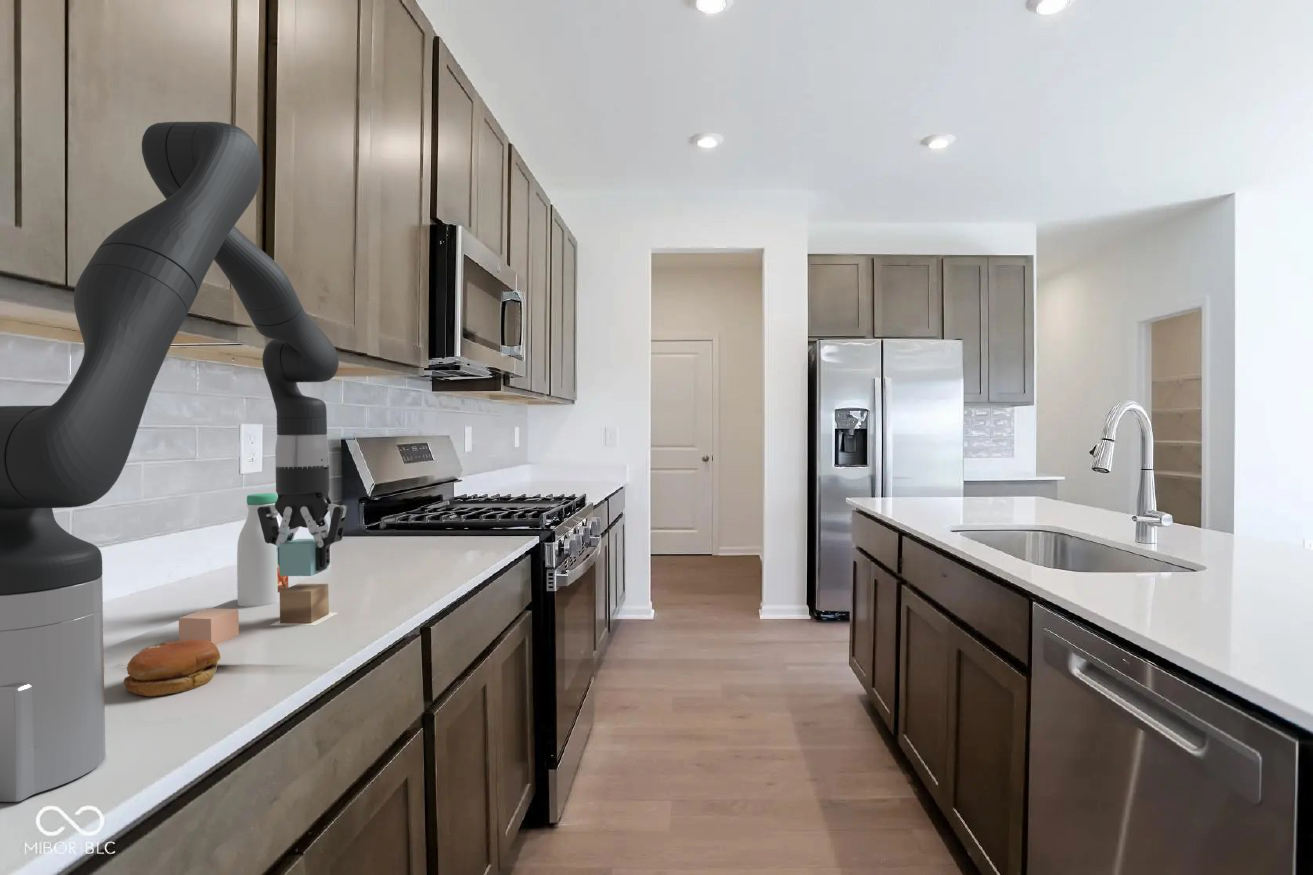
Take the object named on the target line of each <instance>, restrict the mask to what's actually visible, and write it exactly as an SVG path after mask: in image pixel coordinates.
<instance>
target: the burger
mask: <svg viewBox="0 0 1313 875" xmlns="http://www.w3.org/2000/svg"><path fill="white" fill-rule="evenodd" d="M220 659H221V653H220V650H219V649H218V647H217V644H216V645H215V644H214V643H212V642H210V641H206V640H185V641H179V640H177V641H169V642H161V643H160V644H157V645H155V646H153V645H152V646H149V647H148V648H144V649H143V650H140V651H139V652H137V653H136V654H135V655H134V656H133V657H132V658H130V660H129V662H128V663H127V666H126V671H127V672H126V673H127V675H128V676H125V677H124V679H123V684H124V687H125V689H126V690H127V691H128V692H129V693H130V692H131V693H133V694H135V695H137V696H141V697H143V696H145V697H160V696H165V695H171V694H177V693H182V692H188V691H190V690H194V689H197V688H200V687H202V686H204V685H207V684H208V683H210V681H211V680H212V679H213V678H214V675H215V674H216V671H217V669H218V668H217V667H218V661H220Z"/></svg>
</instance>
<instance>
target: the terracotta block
mask: <svg viewBox="0 0 1313 875" xmlns="http://www.w3.org/2000/svg"><path fill="white" fill-rule="evenodd" d="M239 620H240V619H239V608H216V607H215V608H204V609H202V610H198V611H195V612H191V613H188V614H186V615H184V616H180V617H178V641H185V640H206V641H210V642H212V643H214V644H215V645H216V646H217V645H219V644H221V643H224V642H226V641H228V640H231V639H233V638H235V637H238V636H239V635H240V629H239V628H240V625H239Z"/></svg>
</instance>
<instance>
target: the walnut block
mask: <svg viewBox="0 0 1313 875" xmlns="http://www.w3.org/2000/svg"><path fill="white" fill-rule="evenodd" d="M329 591H330V590H329V583H297V584H295V585H292V586H288V588H286V589H284V590H281V591H280V603H279V620H280V623H313V622H315V621H317V620H319V619H321V618H322V617H324V616H326V615H328V614H329V611H330V610H329V609H330V608H329V607H330V603H329V600H330V599H329V598H330V597H329Z"/></svg>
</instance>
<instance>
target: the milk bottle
mask: <svg viewBox="0 0 1313 875" xmlns="http://www.w3.org/2000/svg"><path fill="white" fill-rule="evenodd" d="M277 498H278V494H277V493H271V492H270V493H266V492H265V493H252V494H247V496H246V504H247V506H246V508H248V514H247V517H246V520H245V522H244V524H243V527H242V528H241V531H240V532H239V536H238V539H237V552H236V562H237V563H236V565H237V566H236V568H237V569H236V572H237V574H236V576H237V580H236V581H237V584H236V586H237V605H238V606H240V607H246V608H247V607H249V608H250V607H251V608H252V607H265V606H270V605H277V604H280V591H281V590H284V589H286V588H289V576H280V571H279V565H278V547H277V546H276V545H274V544H271V543H269V544H268V543H266V542H265V539H264V535H263V531H262V527H261V524H260V520H259V516H258V512H257V509H258V508H259V507H262V506H268V505H274V504H275V503H276V501H277ZM277 521H278V525H279V527H280V524H281V521H280V519H279V516H278V515H277Z"/></svg>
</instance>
